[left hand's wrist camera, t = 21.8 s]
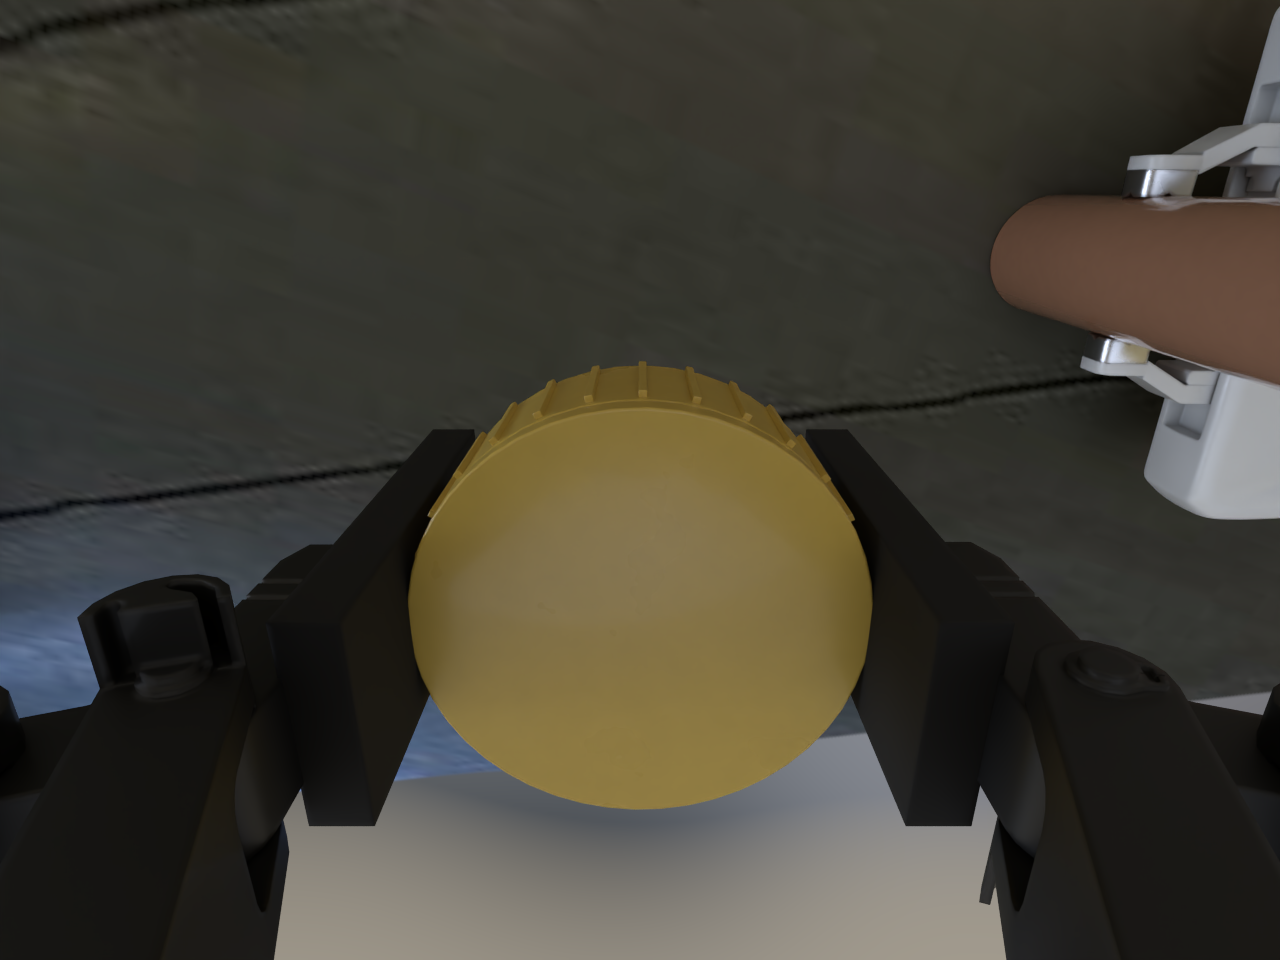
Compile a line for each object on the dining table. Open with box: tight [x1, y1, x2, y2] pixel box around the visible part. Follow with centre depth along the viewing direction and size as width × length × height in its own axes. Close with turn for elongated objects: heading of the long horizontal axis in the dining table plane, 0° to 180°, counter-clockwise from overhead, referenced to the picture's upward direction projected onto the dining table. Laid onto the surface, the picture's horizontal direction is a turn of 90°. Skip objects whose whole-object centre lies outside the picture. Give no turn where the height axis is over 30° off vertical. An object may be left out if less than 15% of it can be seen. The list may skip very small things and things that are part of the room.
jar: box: [990, 195, 1280, 391], centre depth 26 cm, size 5×5×20 cm
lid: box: [408, 361, 873, 809], centre depth 11 cm, size 6×6×2 cm
